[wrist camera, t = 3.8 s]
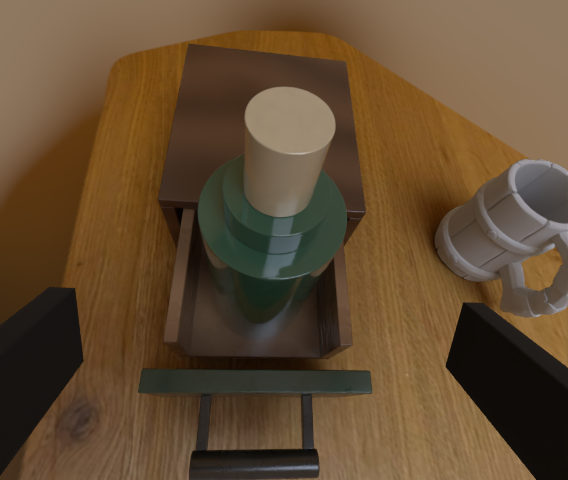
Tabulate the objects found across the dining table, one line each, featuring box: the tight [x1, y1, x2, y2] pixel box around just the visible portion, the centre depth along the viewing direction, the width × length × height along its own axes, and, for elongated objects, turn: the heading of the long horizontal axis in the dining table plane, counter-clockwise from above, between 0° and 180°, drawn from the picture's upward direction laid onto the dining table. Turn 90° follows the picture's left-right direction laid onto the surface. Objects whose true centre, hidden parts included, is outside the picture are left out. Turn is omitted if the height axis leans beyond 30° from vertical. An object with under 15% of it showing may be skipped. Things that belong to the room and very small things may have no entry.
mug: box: [435, 159, 568, 317], centre depth 27 cm, size 8×12×12 cm, turn 9°
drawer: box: [138, 208, 372, 480], centre depth 23 cm, size 19×13×7 cm
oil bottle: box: [197, 87, 347, 340], centre depth 18 cm, size 7×7×18 cm
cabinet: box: [158, 44, 366, 248], centre depth 30 cm, size 16×14×9 cm
